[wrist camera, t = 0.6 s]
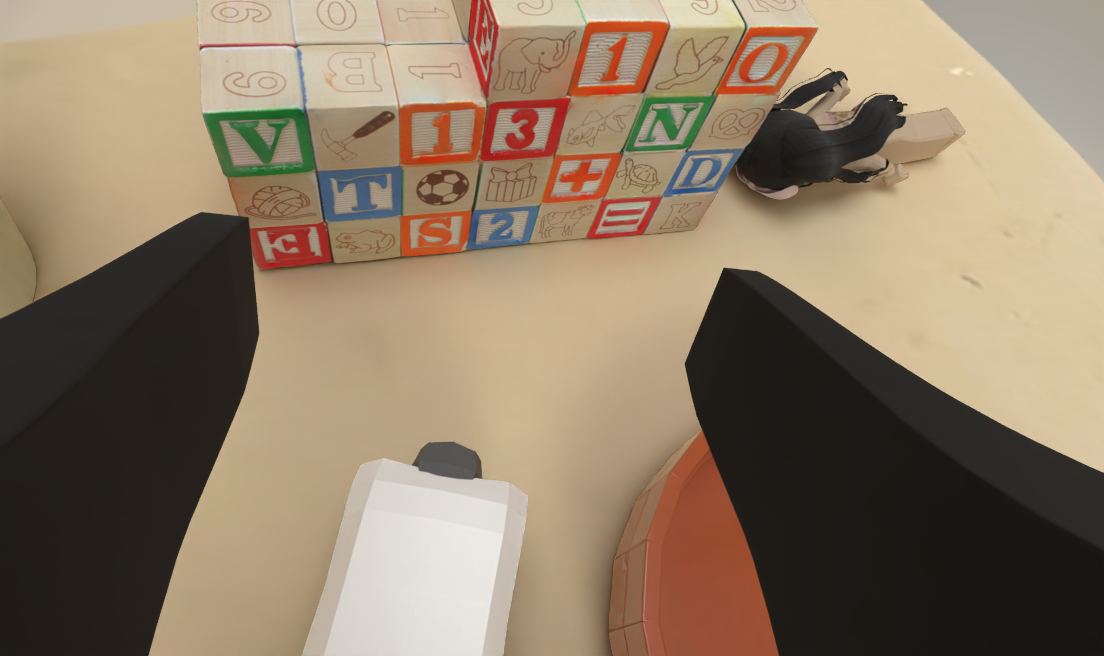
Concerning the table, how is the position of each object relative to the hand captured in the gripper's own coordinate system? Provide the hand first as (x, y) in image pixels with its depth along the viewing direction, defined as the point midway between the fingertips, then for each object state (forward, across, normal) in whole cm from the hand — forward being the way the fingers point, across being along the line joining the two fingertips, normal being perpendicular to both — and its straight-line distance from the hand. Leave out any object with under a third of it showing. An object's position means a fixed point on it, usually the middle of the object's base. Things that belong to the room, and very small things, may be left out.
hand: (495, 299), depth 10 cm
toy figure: (+26, -22, +6) cm, 35 cm away
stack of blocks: (+21, -2, +9) cm, 23 cm away
